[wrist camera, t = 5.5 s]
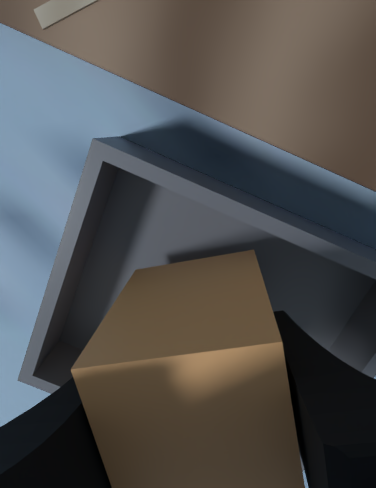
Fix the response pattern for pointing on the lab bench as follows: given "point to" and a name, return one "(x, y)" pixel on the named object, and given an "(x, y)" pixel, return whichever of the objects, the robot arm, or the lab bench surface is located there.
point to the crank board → (237, 64)
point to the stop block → (191, 381)
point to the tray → (192, 257)
